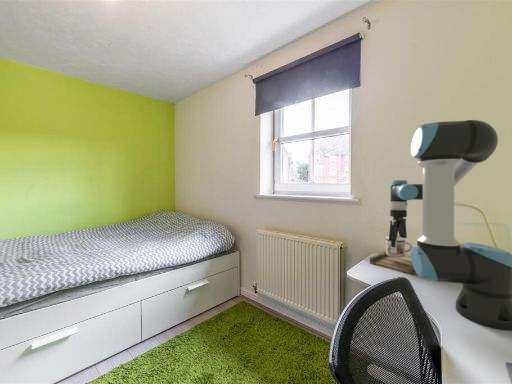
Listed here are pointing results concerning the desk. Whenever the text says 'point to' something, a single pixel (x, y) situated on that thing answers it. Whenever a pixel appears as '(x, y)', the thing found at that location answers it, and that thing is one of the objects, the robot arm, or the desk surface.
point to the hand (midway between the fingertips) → (397, 251)
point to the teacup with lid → (400, 247)
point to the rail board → (393, 263)
